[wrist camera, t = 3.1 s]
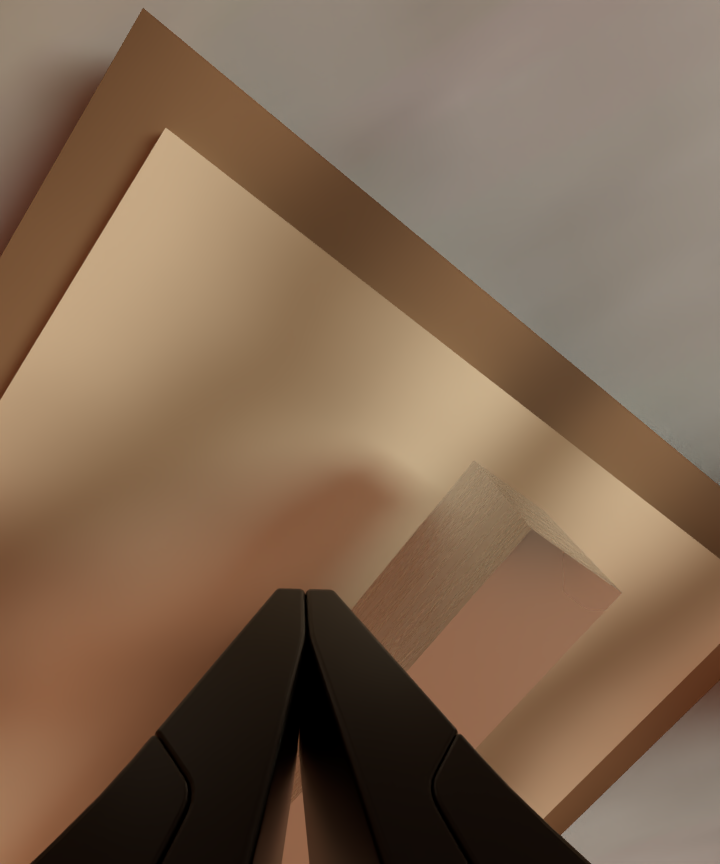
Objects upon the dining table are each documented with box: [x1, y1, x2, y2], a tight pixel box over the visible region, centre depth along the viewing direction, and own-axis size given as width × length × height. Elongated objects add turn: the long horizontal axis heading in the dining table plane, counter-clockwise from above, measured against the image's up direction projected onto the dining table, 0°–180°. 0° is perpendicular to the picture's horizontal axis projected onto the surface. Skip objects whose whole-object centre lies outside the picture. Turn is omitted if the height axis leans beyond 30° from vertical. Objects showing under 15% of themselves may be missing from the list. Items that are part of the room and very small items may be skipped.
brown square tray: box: [0, 8, 720, 864], centre depth 16 cm, size 22×22×3 cm
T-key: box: [282, 461, 622, 864], centre depth 12 cm, size 16×2×5 cm, turn 143°
